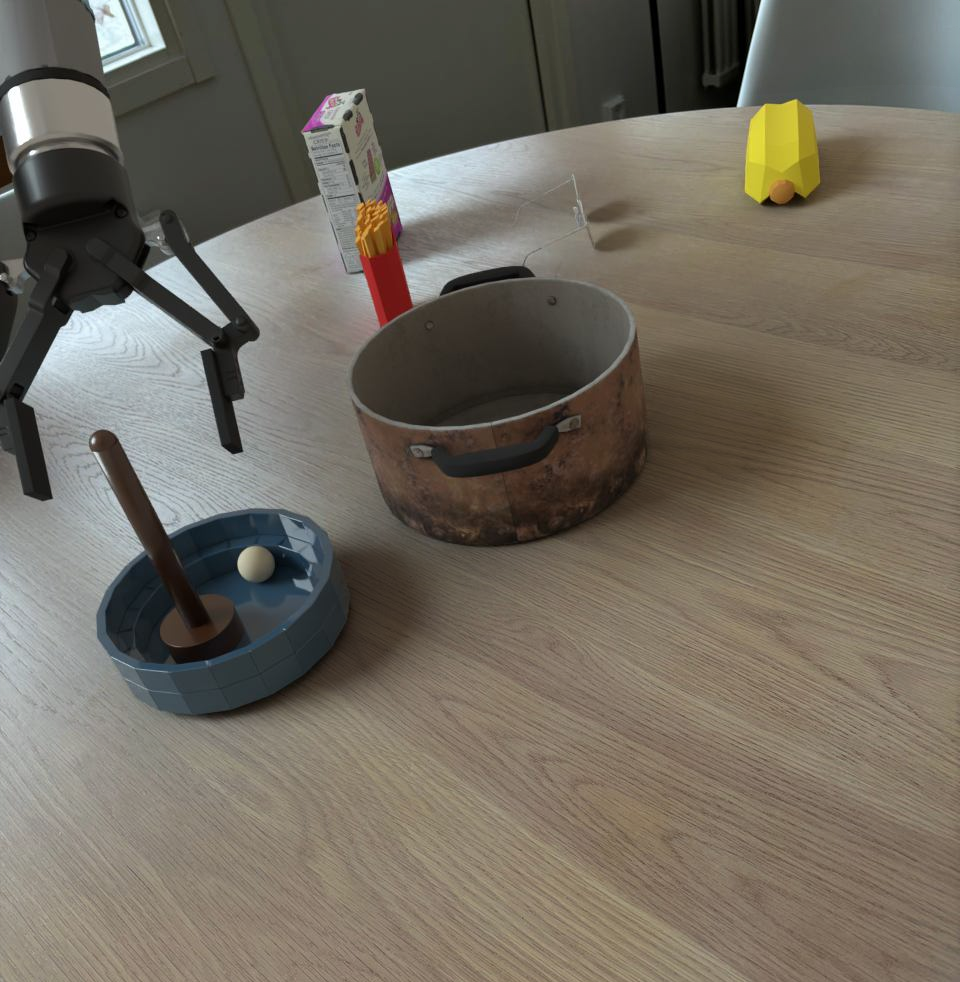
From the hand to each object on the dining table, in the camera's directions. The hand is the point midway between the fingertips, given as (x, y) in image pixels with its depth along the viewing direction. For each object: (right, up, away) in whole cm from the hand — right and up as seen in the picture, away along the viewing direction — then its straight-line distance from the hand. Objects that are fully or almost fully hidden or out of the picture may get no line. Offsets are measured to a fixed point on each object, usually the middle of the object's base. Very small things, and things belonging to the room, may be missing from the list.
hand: (135, 473), depth 70 cm
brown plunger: (+3, -11, +6) cm, 13 cm away
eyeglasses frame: (+31, +33, +47) cm, 65 cm away
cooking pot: (+26, +3, +16) cm, 31 cm away
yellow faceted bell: (+57, +40, +46) cm, 83 cm away
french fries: (+15, +22, +40) cm, 48 cm away
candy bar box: (+11, +35, +55) cm, 66 cm away
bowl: (+5, -11, +7) cm, 14 cm away
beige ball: (+6, -5, +10) cm, 13 cm away
